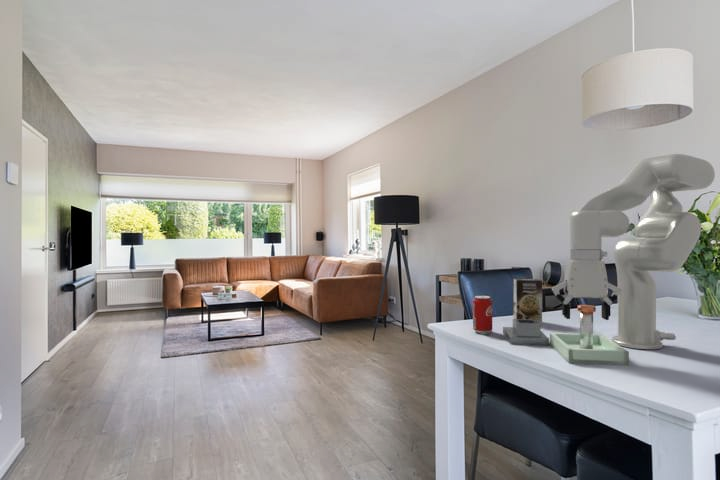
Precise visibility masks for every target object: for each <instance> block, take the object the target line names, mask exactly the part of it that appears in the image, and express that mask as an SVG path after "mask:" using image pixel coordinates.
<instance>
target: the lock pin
mask: <svg viewBox="0 0 720 480" xmlns="http://www.w3.org/2000/svg"><path fill="white" fill-rule="evenodd" d="M576 309H577V311H578V312H579V334H580V349H593V334H594V313H595V312H597V311H596V310H597V308H596V306H595V305H590V304H578V305H577V308H576Z"/></svg>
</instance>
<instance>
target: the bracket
mask: <svg viewBox="0 0 720 480" xmlns="http://www.w3.org/2000/svg"><path fill="white" fill-rule="evenodd" d="M502 334H503V335H504V337H505V339H507V342H508V343H509V344H511V345H530V346H531V345H535V346H550V337H548V336H547V335H546V334H545V333H544V332H543V331H542V330H541V324H540V323H539V322H538V321H536V320H535V319H513V318H512V326H503V327H502Z"/></svg>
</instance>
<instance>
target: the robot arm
mask: <svg viewBox="0 0 720 480" xmlns="http://www.w3.org/2000/svg"><path fill="white" fill-rule="evenodd" d="M715 175H716V174H715V169H714V167H713V165H712V163H710V162H709V161H707V160H705V159H702V158H699V157H695V156H691V155H688V154H682V153H673V154H665V155H660V156H654V157H647V158H644V159H642V160H640V161H638V162H637V163H636V164H635V165H634V166H633V167H632V168H631V170H630V171H628V173H627V174H626V175H625V176H624V177H623V178H622V179H621V180H620V181H619V183H618V184H617V185H615V186H612V187H610V188H609V189H606V190H605V191H603V192H601V193H600V194H597V195H595V196H594V197H592V198H591V199H589V200H588V201H586V202H585V203H584V204H583V205H582V206H581V207H580V208H579V210H576V211H574V212H572V213H571V214H570V216H569V217H570V219H569V221H570V222H569V223H570V225H569V226H570V227H569V229H570V231H569V232H570V233H569V234H570V235H569V236H570V237H569V239H570V240H569V241H570V242H569V243H570V244H569V246H570V247H569V249H570V251H569V253H570V257H569V258H570V260H567V261H566V263H565V264H566V265H565V270H564V280H563V281H562V282H561V283H558V284H557V285H556V284H555V285H554V286H552V287H551V291H552V293H553V294H554V296H555V298H556V299H557V300H559V302H561V309H562V310H561V312H562V313H561V315H562V316H563V318H565V319H567V320H570V319H571V304H569V303H570V302H571V300H573V298H575V299H579V298H580V299H600V300H601V301H602V303H601V318H602V319H603V320H606V321H609V320H610V319H609V318H610V317H611V306H612V305H613V303H615V301H616V300H617V335H614V336H612V337H611V341H612V342H614V343H616V344H617V345H619V346H621V347H625V348H629V349H630V348H631V349H637V350H659V349H661V348H663V347H664V346H663V344H664V343H663V341H664V340H667V341H675V340H676V334H675V333H673V332H665V331H659V330H658V329H657V286H656V282H655V280H654V278H653V276H652V274H651V273H650V272H662V273H664V272H665V273H672V272H677V271H678V270H680V269H681V268H682V267H683V265H684V264H685V263H686V261H687V259H688V258H689V256H690V254H691V253H692V251H693V250H694V248H695V247H696V245H697V243H698V241H699V239H700V237H701V234H702V233H701V232H702V225H701V221H700V219H699V217H698V216H697V215H695V214H694V213H692V212H689V211H683V206H682V204H681V202H680V200H679V199H678V198H677V197H676V196H675V195H674V194H673V193H674V192H684V191H685V192H686V191H697V190H703V189H706V188H708V187H710V186H711V185H712V184H713V183H714V180H715ZM648 198H650V199H649V200H650V203H649V206H648V207H647V209H646V210H645V212H644V213H643V215H642V216H641V218H640V220H638V223H637V224H636V226H635V228H634V237H628V238H623V239H620V240H619V241H618V242H617V243H616V244H615V245H614V247H613V259H614V263H615V267H616V268H615V269H616V275H617V276H616V278H617V279H616V280H617V286H616V285H614V284H612V283H611V282H609V281H608V275H607V274H608V273H607V269H606V267H607V266H606V263H605V261H604V260H602V259H604V258H605V257H608V252H607V251H603V249H602V238H617V237H618V238H619V237H620V236H623V235H624V234H625V233H626V232H627V231H628V230H629V228H630V220H629V217H628V216H627V214H625V213H624V212H625V211H628V210H631V209H634V208H637V207H639V206H641V205H642V204H644V203H645V202H646V200H647V199H648ZM562 289H563V293H564V295H562V294H561V293H560V290H562ZM609 289H610V290H612V293H611V294H610V295H609V296H608V294H609Z"/></svg>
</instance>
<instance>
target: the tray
mask: <svg viewBox="0 0 720 480" xmlns="http://www.w3.org/2000/svg"><path fill="white" fill-rule="evenodd" d="M549 335H550V337H549V346H551V347H552V348H553V349H554V351H556V352H557V353H558V354H559V355H560V356H561V358H563V359H564V360H565V361H566V362H567V363H568V364H583V365H584V364H585V365H603V366H604V365H605V366H606V365H607V366H608V365H610V366H630V352H629V350H627V349H625V348H623V346H620V345H617V344H616V343H614V342H612V339H609V338H607V337H606V336H605V335H603V334H599V333H598V334H594V333H593V349H580V333H565V332H564V333H563V332H559V333H556V332H550V333H549Z"/></svg>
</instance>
